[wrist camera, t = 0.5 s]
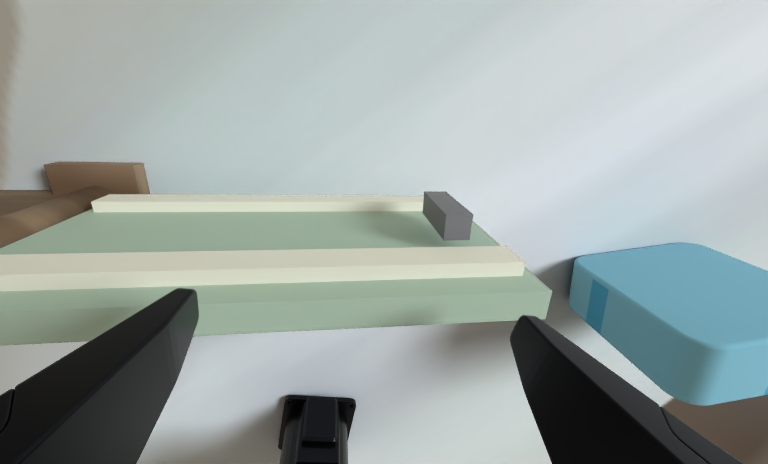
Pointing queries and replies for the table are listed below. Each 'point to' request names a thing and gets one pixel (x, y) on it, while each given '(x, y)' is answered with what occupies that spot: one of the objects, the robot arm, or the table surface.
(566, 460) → the robot arm
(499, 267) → the sage green panel
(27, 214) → the brown piece
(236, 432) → the table surface
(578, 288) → the data package
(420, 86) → the table surface
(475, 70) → the table surface
